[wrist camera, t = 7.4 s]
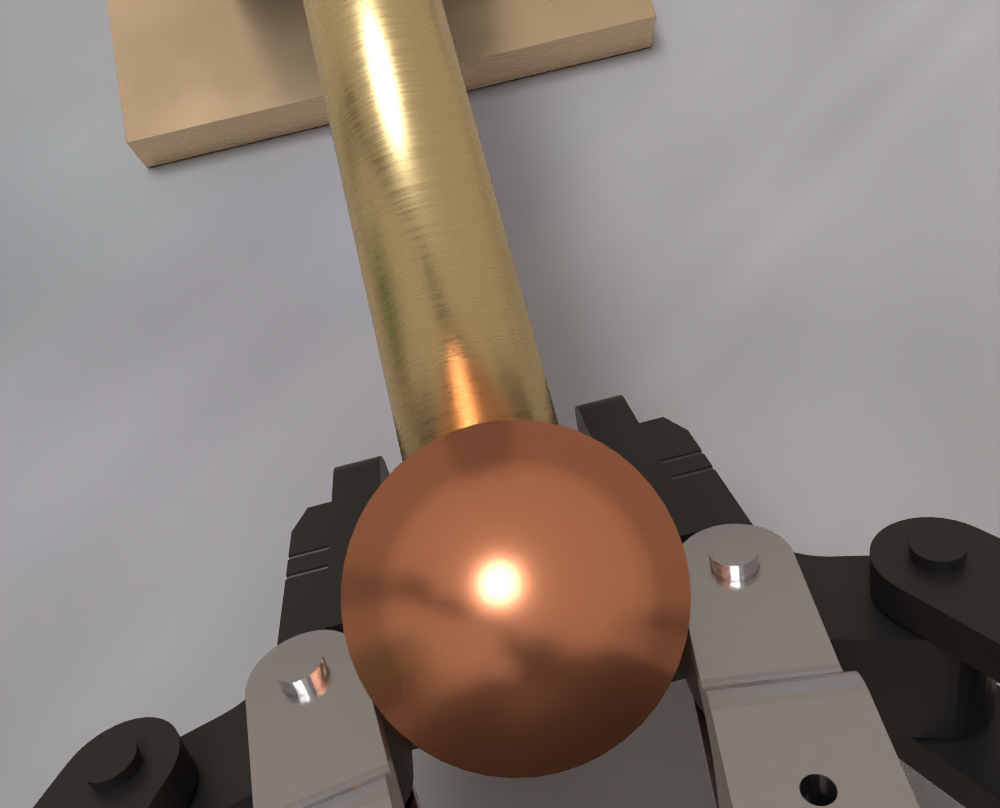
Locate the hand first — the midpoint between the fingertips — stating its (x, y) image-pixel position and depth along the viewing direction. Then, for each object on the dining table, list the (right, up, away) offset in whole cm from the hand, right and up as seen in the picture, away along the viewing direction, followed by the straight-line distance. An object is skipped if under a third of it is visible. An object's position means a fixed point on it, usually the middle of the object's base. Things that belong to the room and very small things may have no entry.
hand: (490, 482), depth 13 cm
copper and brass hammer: (-1, +5, +5) cm, 8 cm away
